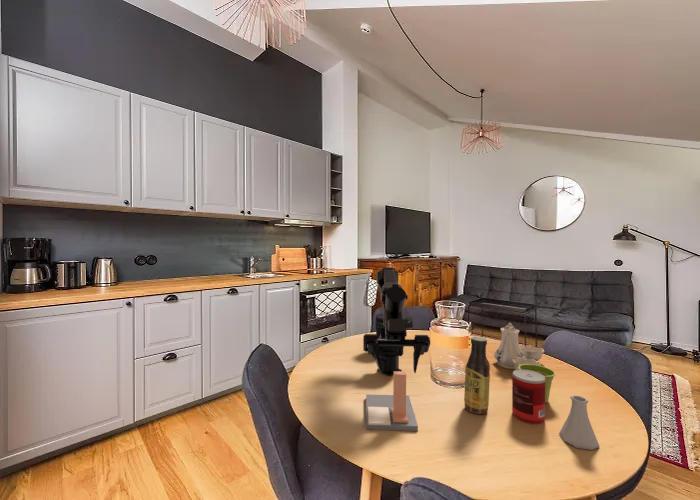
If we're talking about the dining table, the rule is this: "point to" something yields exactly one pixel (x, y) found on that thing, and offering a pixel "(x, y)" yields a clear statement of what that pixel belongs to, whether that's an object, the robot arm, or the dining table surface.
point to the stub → (399, 397)
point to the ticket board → (387, 414)
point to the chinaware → (515, 350)
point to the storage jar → (379, 324)
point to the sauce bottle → (477, 378)
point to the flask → (579, 426)
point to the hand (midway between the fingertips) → (397, 372)
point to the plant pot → (544, 371)
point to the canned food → (528, 396)
